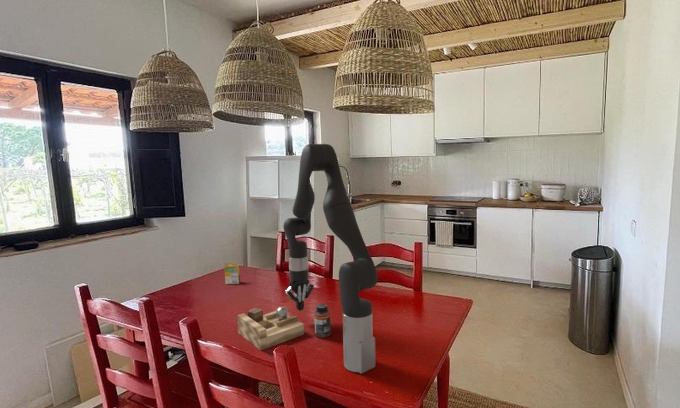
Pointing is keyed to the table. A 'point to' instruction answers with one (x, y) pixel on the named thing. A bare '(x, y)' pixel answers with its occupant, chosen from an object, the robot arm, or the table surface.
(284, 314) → the ball
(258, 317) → the walnut cube
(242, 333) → the wooden stepped tray
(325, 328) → the supplement bottle
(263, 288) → the table surface
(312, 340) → the table surface
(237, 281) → the crayon box
